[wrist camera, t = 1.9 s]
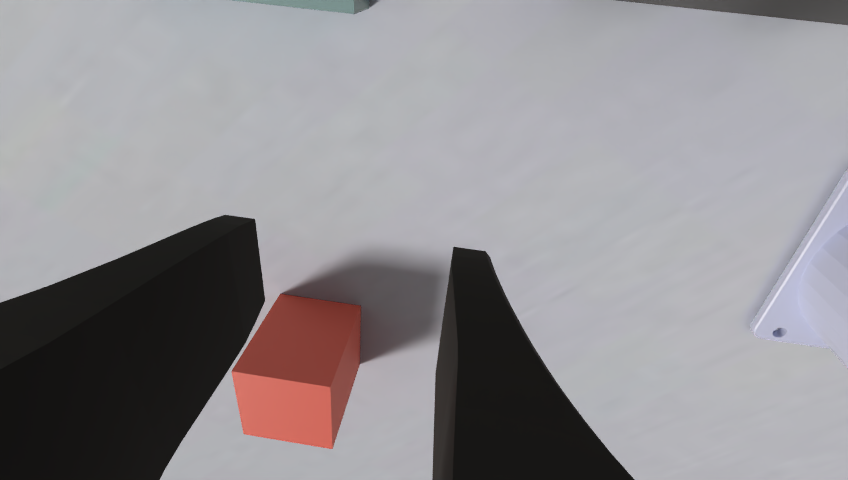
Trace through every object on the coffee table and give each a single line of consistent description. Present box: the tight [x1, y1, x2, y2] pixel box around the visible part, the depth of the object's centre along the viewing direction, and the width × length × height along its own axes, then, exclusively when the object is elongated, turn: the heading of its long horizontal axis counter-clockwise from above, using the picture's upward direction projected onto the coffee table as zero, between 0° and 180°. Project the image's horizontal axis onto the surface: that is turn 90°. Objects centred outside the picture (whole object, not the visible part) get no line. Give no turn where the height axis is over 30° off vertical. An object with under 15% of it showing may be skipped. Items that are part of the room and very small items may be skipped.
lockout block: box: [232, 294, 361, 449], centre depth 21 cm, size 4×4×5 cm
